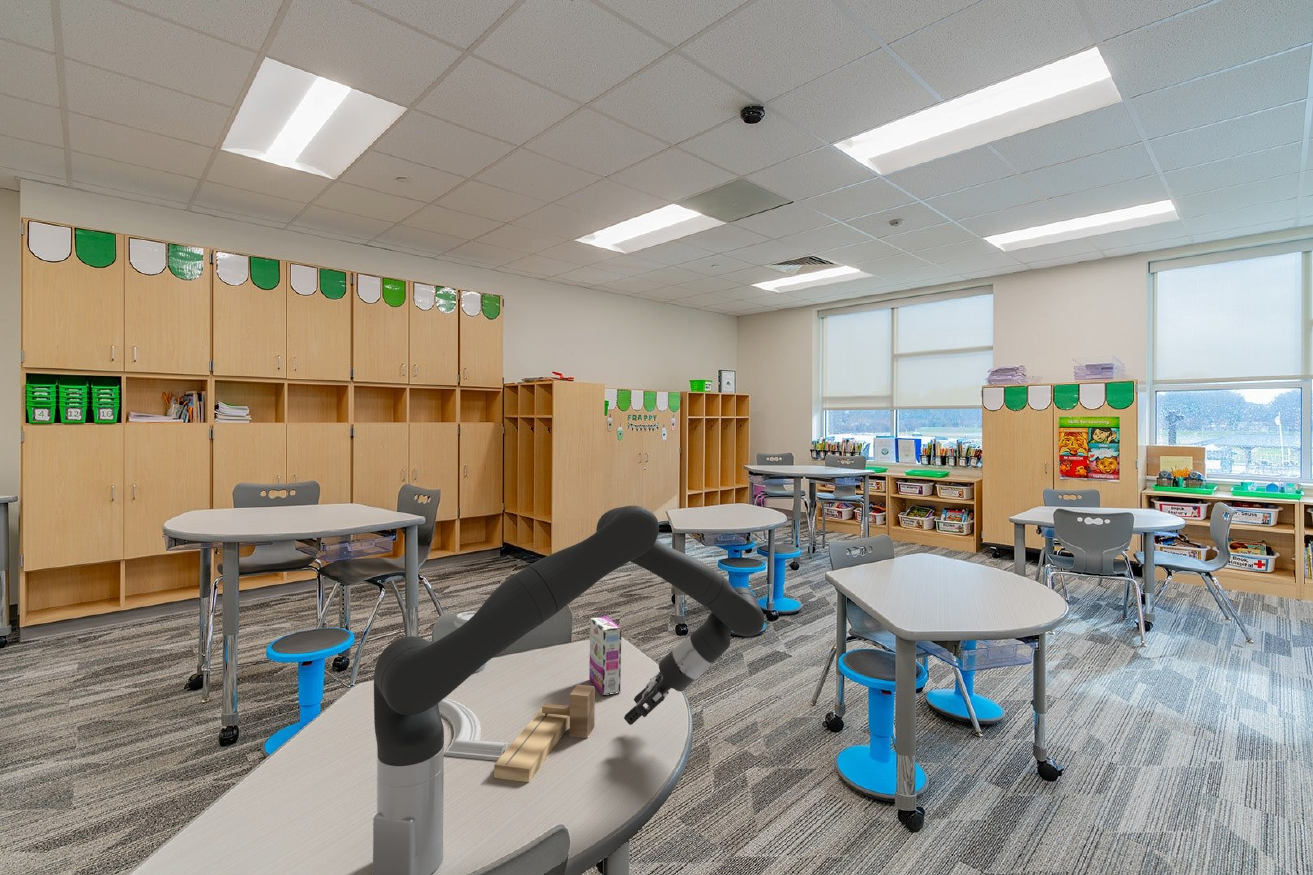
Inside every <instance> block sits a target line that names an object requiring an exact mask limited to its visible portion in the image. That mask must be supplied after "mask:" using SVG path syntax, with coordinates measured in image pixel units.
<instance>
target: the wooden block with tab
mask: <svg viewBox="0 0 1313 875" xmlns="http://www.w3.org/2000/svg"><path fill="white" fill-rule="evenodd" d="M595 695H596V687H595V686H594V685H586V684H585V685H584V684H576V686H575V687H574V689H572V691H571V692H570V693H569V705H564V704H555V703H546V702H545V703H543V705H542V706H541V709H542V713H545V715H548V714H556V715H565V716H570V725H569V737H573V738H579V739H581V738H583V739H588V738H589V737H588V736H590V735H591V733H592V731H593V730H594V728H595V725H596V724H595V722H596V721H595V716H596V714H595V712H596V711H595V710H596V708H595V707H596V706H595V705H596V703H595V701H596V700H595V699H596V698H595Z"/></svg>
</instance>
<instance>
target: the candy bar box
mask: <svg viewBox="0 0 1313 875" xmlns="http://www.w3.org/2000/svg"><path fill="white" fill-rule="evenodd" d="M589 625H590V626H589V674H588V675H589V676H588V677H589V678H588V679H590V680H589V681H590V682H591V681H592V682H591V683H592V685H593V686H594V685H595V686H596V687H595V689H597V690H598V691H599V693H600V694H601V693H602V694H601V695H602V696H603V695H606V694H610V693H616V692H620V693H621V676H622V674H621V669H622V668H621V667H622V661H621V660H622V627H620V626H619V625H618V624H616V622H614V620H612V619H611V618H609V617H608V616H597V617H591V618H589ZM606 696H607V695H606Z"/></svg>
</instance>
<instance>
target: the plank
mask: <svg viewBox="0 0 1313 875" xmlns="http://www.w3.org/2000/svg"><path fill="white" fill-rule="evenodd" d="M569 727H570V716H565V715H556V714H548V715H545V713H542V708H541V709H540V710H539V711H538V712H537V713H536V715H535V716H534V717H533V718H532V719H531V721H530V722H529V723H528V724H527V725H526V726H525V727H524V729H523V730H522V731H521V733H519V734H518V736H517V737H516V738H515V740H514V741H513V742H512V743H510V744H511V745H510V747H509V748H508V749H507V750H506V751H505V752H503V755H502V756H501V757H500V758H499V760H498V761H496V762H495V763H494V766H493V768H494V770H493V771H494V772H493V775H494V776H493V777H494V779H501V780H508V781H515V782H524V783H531V781H532V779H533V778H534V776H535V775H536V773H537V772H538V770H539V769H540V768H541V766H542V764H544V762H545V761H546V759H547V757H548V756H549V754H551V752H552V751H553V749H554V748H555V746H556V745H557V744H558V742H559V741H560V739H561V738H562V736H564V734H565V732H566V731H567V730H568V728H569Z"/></svg>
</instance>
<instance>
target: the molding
mask: <svg viewBox="0 0 1313 875" xmlns="http://www.w3.org/2000/svg"><path fill="white" fill-rule="evenodd" d="M438 706H439V712H440V716H442V717H444V718H445V719H446V720H447V721H448V722H449V723H450V725H451V727H452V729H453V736H452V737H453V738H452V740H451V743H450V745H449V746H448V747H447V749H446V750H445V752H444V756H447V757H456V758H467V759H475V760H477V759H478V760H484V761H485V760H488V761H496V762H497V761H498V760H499V758H500V757H501V756H502V755H503V754H504V752H505V751H506V750H507V749H508V748H509V747H510V745H511V744H512V743H510V742H501V741H500V742H499V741H490V740H489V741H487V740H481V737H482V736H481V735H482V729H481V727H482V726H481V722H480V721H479V719H478V716H477V715H476V714H475V713H474V712H473V711H472V710H471V709H470V708H468V707H467V706H465V705H464V704H463V703H460V702H458V701H455V700H453V699H451V698H447V697H445V698H444V699H443V700H442V701H440V702H439V703H438Z"/></svg>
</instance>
